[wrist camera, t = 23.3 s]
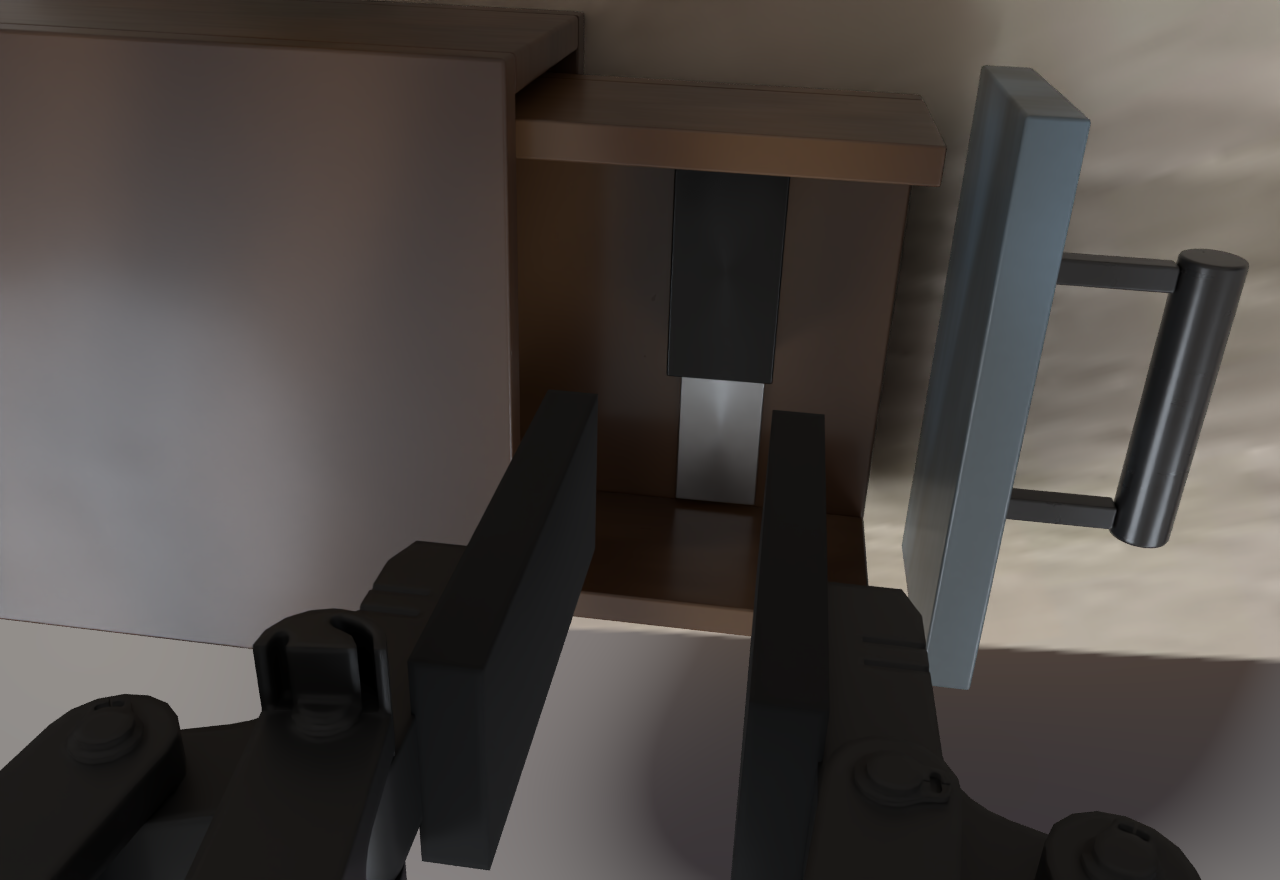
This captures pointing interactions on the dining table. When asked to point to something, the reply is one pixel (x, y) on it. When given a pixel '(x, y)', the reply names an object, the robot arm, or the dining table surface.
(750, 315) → the black rectangular block
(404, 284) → the cabinet
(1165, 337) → the drawer
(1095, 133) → the dining table surface
